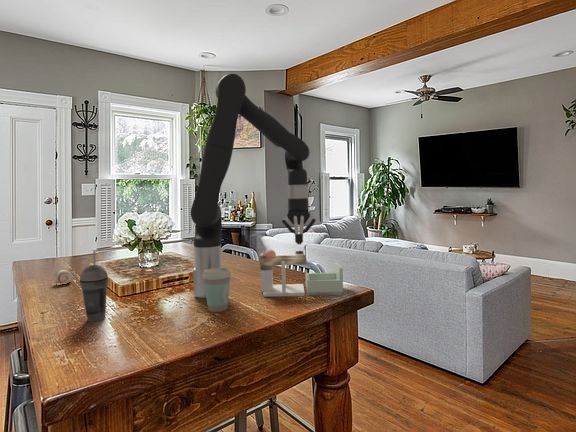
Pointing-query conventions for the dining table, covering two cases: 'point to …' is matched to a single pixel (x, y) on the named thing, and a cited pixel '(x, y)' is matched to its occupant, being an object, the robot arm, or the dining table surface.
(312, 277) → the cup
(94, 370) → the dining table surface
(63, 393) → the dining table surface
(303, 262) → the lever trough
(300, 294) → the stand
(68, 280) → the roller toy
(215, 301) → the coffee cup
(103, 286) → the beverage cup
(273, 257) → the ball
